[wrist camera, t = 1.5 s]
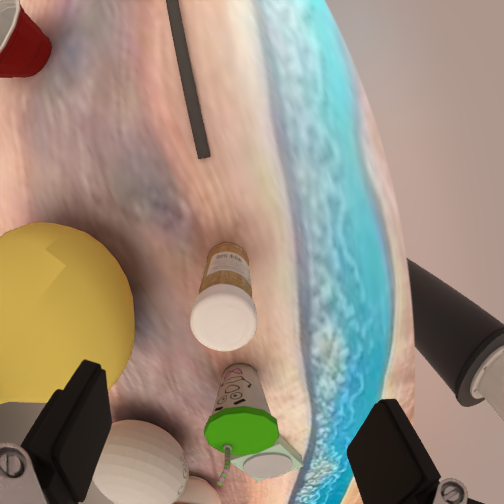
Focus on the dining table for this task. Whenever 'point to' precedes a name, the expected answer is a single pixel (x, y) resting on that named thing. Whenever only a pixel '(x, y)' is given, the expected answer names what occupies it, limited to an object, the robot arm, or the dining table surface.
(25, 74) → the plastic cup
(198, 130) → the ladle
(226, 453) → the cup
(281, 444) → the scale
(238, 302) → the sprinkles bottle
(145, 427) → the decorative object
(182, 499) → the lidded bowl
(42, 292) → the vase
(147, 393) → the dining table surface
